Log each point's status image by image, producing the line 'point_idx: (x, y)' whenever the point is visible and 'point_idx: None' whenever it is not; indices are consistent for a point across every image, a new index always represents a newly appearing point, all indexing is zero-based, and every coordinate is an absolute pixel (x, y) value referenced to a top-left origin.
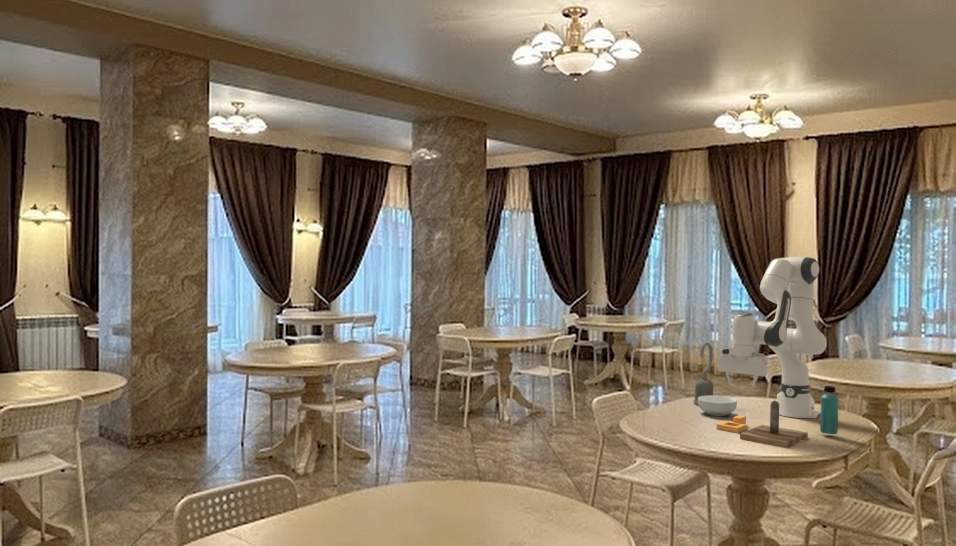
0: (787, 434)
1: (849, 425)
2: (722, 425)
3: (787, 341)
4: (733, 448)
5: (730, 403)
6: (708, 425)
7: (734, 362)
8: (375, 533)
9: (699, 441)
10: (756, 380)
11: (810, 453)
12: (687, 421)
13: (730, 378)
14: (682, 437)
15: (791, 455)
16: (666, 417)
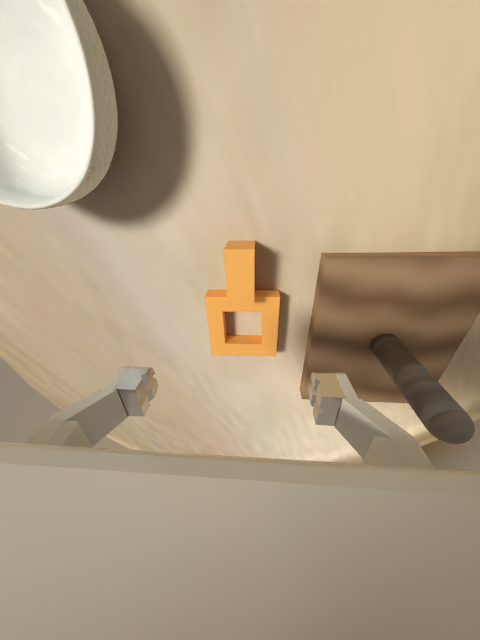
0: (426, 333)
1: None
2: (229, 354)
3: None
4: (313, 445)
5: (98, 125)
6: (176, 325)
7: None
8: None
9: (246, 440)
10: (378, 413)
11: (470, 402)
12: (111, 322)
13: (119, 402)
14: (209, 436)
15: (424, 431)
16: (47, 320)
